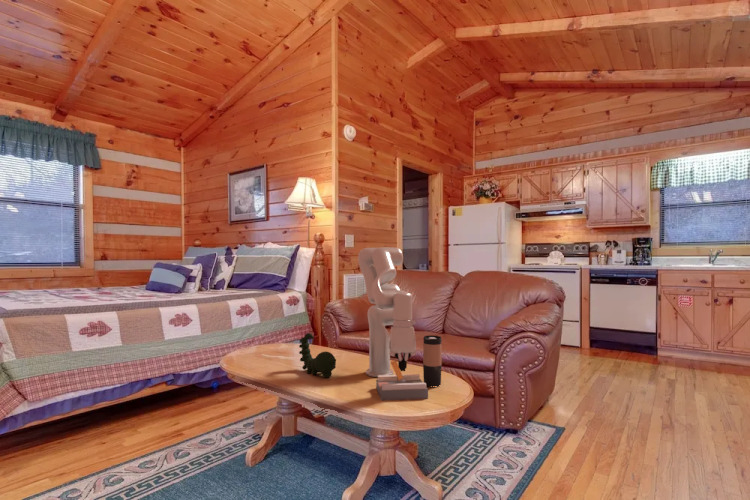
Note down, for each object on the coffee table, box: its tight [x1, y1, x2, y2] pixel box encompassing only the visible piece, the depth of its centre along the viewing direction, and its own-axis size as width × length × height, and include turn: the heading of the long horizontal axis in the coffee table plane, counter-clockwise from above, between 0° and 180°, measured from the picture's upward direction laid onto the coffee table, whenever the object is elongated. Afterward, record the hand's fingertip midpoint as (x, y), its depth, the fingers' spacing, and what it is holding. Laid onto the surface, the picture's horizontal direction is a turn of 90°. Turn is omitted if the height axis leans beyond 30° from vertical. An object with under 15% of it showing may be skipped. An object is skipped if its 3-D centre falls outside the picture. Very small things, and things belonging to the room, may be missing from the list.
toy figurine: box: [298, 332, 337, 379], centre depth 183 cm, size 9×19×25 cm
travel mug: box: [422, 335, 443, 388], centre depth 169 cm, size 8×8×20 cm
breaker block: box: [375, 373, 429, 401], centre depth 158 cm, size 14×18×5 cm
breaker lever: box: [390, 359, 405, 383], centre depth 158 cm, size 4×2×9 cm, turn 7°
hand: (402, 370), depth 158 cm, fingers closed
